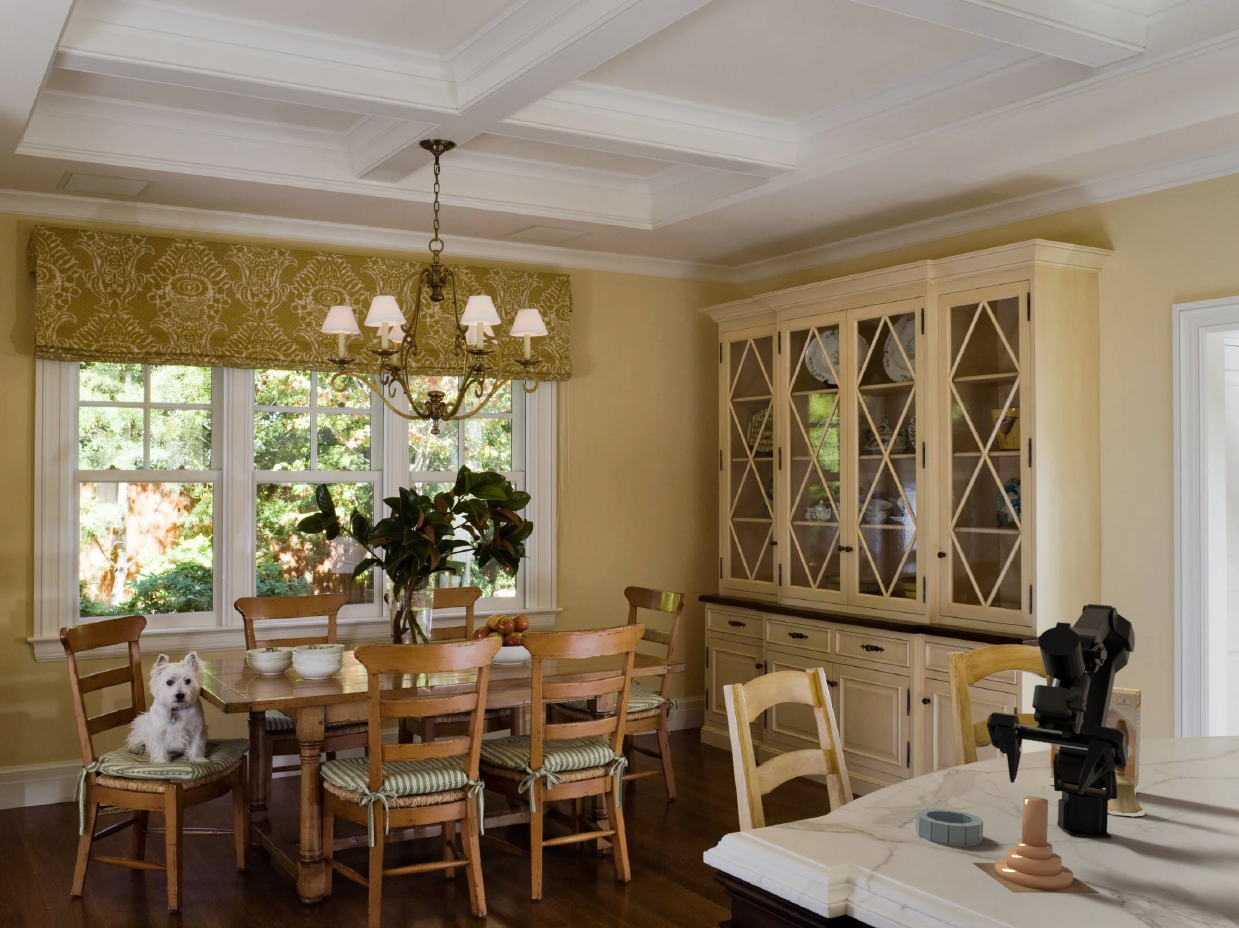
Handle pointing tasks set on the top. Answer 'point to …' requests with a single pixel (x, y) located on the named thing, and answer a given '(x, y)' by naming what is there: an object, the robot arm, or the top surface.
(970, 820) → the blue-grey faceted ring
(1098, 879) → the top surface
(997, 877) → the plate
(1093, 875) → the top surface
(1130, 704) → the coffeecake box
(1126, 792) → the hand bell
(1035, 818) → the lid
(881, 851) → the top surface
